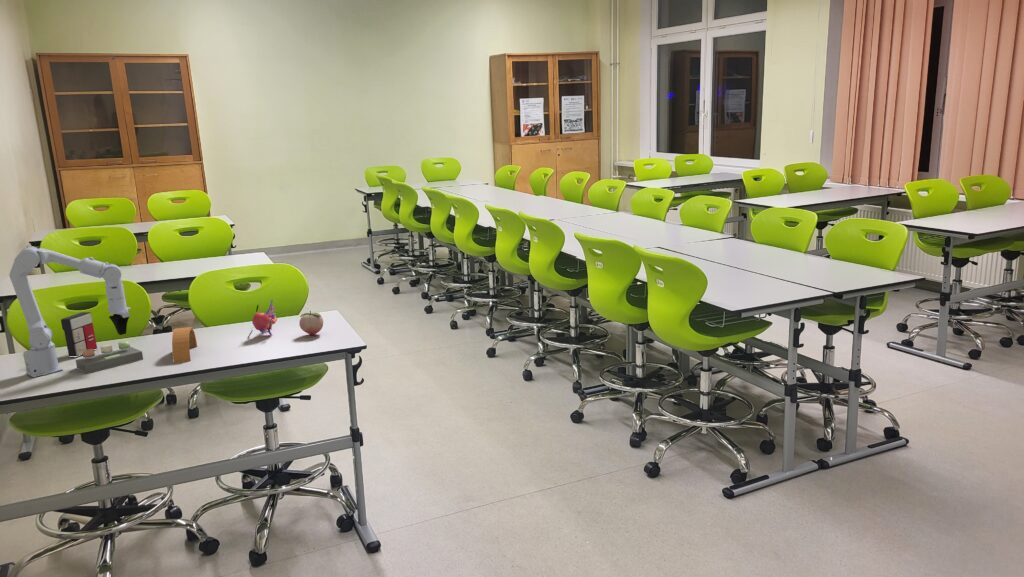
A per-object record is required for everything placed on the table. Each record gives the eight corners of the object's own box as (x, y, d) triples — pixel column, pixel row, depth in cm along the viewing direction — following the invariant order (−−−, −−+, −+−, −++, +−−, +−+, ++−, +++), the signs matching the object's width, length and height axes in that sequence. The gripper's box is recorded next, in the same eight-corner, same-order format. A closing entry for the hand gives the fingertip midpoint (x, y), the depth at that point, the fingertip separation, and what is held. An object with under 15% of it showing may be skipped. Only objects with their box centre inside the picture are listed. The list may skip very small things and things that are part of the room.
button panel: (86, 373, 256) (84, 364, 255) (77, 368, 263) (75, 359, 262) (143, 359, 269) (141, 350, 269) (132, 354, 276) (131, 346, 275)
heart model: (244, 344, 286) (254, 322, 304) (270, 348, 288) (278, 326, 306) (249, 305, 280) (259, 285, 298) (275, 309, 282) (283, 289, 300)
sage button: (121, 349, 268) (120, 344, 267) (117, 348, 270) (116, 342, 270) (131, 347, 270) (130, 342, 270) (127, 345, 273) (126, 340, 272)
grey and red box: (77, 358, 275) (70, 319, 272) (67, 357, 276) (60, 319, 273) (98, 349, 286) (92, 311, 283) (89, 349, 287) (82, 311, 284)
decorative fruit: (328, 331, 294) (325, 307, 292) (320, 337, 286) (318, 312, 284) (305, 332, 295) (302, 308, 293) (297, 338, 287) (294, 313, 285)
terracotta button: (85, 358, 259) (84, 352, 259) (81, 356, 262) (80, 351, 261) (96, 355, 262) (95, 350, 261) (92, 353, 264) (91, 348, 264)
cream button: (103, 353, 264) (102, 348, 263) (99, 352, 266) (99, 346, 266) (114, 351, 266) (113, 346, 266) (110, 349, 269) (109, 344, 268)
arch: (173, 363, 263) (169, 336, 261) (181, 348, 282) (177, 323, 280) (190, 361, 264) (186, 334, 262) (197, 346, 283) (194, 321, 281)
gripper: (135, 298, 264) (141, 334, 267) (120, 293, 274) (126, 328, 277) (114, 302, 259) (120, 339, 262) (99, 297, 269) (106, 332, 272)
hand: (122, 334), depth 269 cm, fingers closed
